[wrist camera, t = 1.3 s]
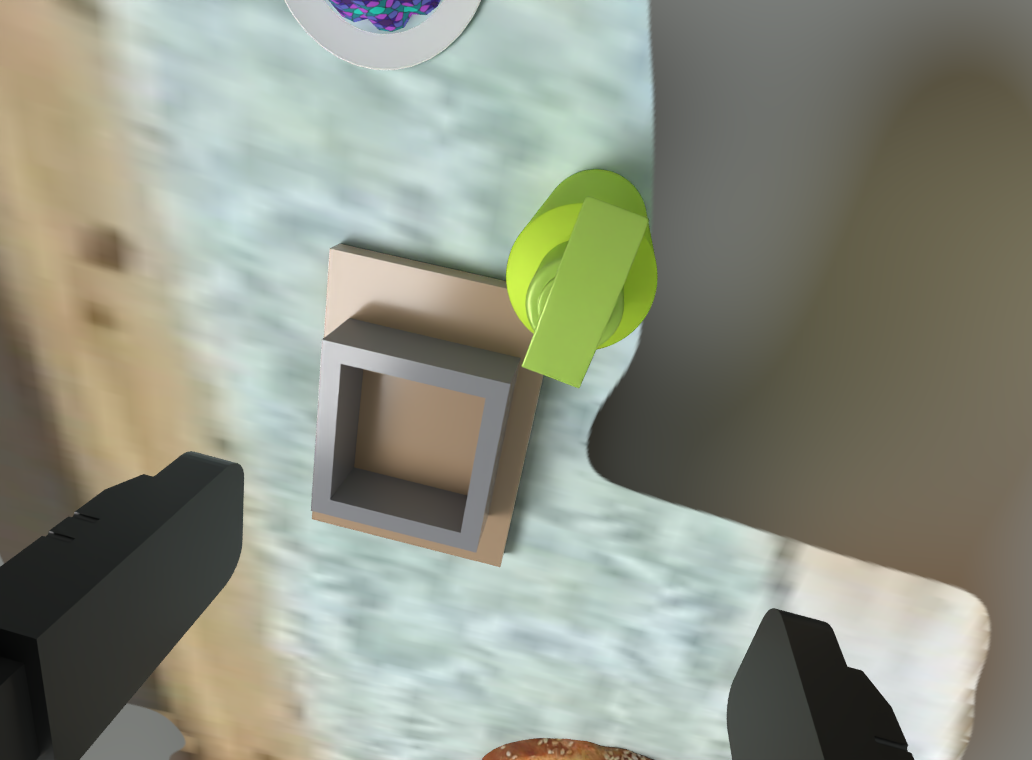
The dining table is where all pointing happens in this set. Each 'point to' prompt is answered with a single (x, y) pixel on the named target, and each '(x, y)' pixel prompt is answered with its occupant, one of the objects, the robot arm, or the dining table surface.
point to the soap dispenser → (582, 273)
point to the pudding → (389, 10)
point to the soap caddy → (421, 404)
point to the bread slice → (559, 751)
